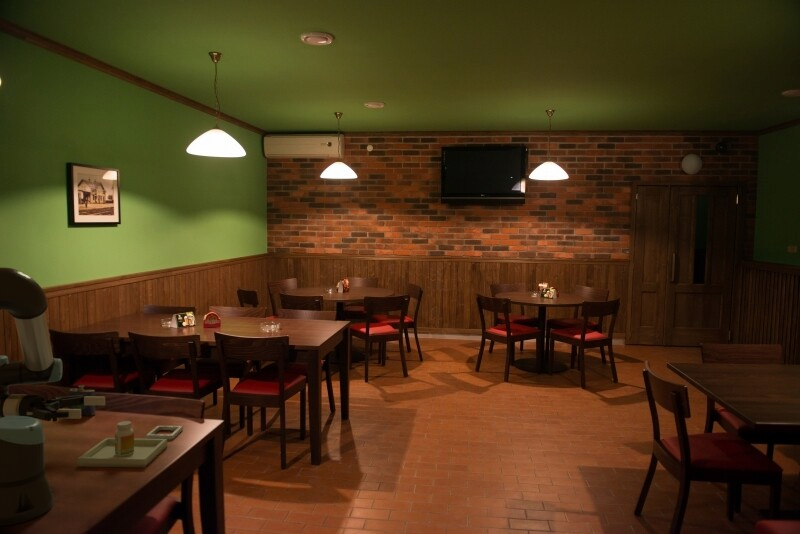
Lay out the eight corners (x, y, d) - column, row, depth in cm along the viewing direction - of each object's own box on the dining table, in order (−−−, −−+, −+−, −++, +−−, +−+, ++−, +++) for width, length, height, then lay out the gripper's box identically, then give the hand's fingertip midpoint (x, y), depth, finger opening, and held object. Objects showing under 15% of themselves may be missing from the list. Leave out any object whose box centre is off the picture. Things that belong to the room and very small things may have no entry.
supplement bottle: (137, 450, 175) (137, 420, 174) (127, 457, 169) (126, 426, 169) (122, 449, 175) (122, 419, 175) (111, 456, 170) (110, 425, 170)
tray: (145, 467, 165) (144, 459, 164) (78, 466, 164) (77, 458, 164) (167, 446, 180) (167, 439, 180) (106, 445, 180) (106, 437, 180)
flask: (96, 414, 209) (96, 384, 209) (91, 417, 206) (91, 387, 205) (71, 413, 210) (70, 383, 209) (66, 416, 207) (65, 386, 206)
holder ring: (172, 439, 186) (172, 435, 186) (145, 439, 186) (145, 435, 186) (182, 430, 195) (182, 426, 195) (157, 429, 195) (157, 425, 195)
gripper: (50, 406, 184) (113, 407, 185) (-4, 432, 160) (69, 432, 160) (50, 384, 184) (113, 385, 184) (-5, 406, 159) (69, 407, 159)
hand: (93, 407), depth 172 cm, fingers open, 13 cm apart
